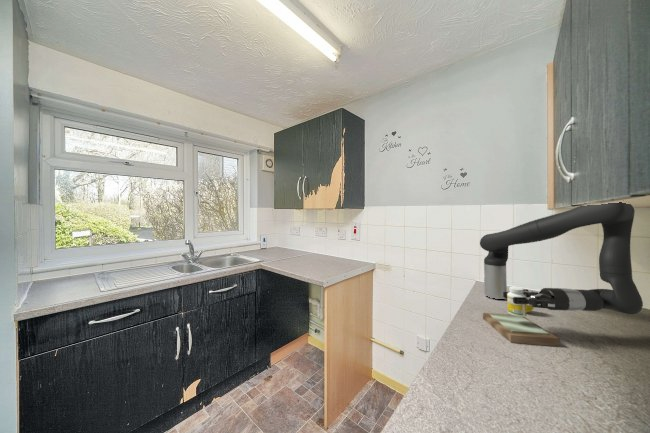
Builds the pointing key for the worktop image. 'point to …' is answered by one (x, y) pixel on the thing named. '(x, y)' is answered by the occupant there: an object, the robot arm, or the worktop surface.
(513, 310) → the supplement bottle
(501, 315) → the brown flat wooden block
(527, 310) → the lemon
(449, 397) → the worktop surface
